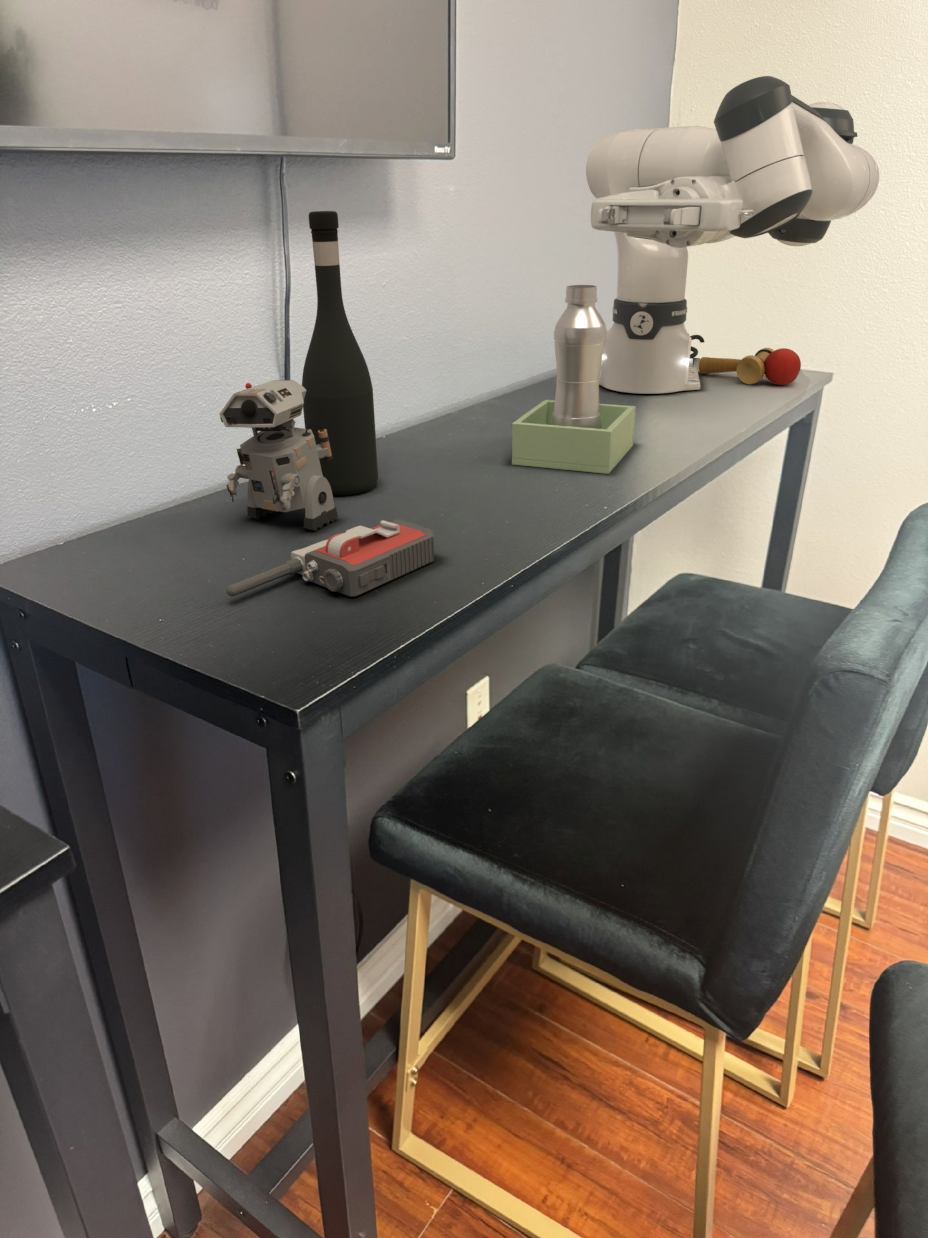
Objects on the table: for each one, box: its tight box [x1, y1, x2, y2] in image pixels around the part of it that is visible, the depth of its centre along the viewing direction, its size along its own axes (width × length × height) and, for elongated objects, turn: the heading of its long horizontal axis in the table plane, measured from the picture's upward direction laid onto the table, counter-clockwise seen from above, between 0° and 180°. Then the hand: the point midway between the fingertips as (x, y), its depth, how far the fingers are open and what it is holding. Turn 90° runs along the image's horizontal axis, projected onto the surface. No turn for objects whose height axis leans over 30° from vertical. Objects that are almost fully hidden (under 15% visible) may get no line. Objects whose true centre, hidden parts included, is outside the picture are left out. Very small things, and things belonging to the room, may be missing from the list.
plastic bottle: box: [551, 284, 608, 429], centre depth 113 cm, size 6×7×20 cm
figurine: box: [219, 379, 338, 532], centre depth 92 cm, size 9×12×15 cm
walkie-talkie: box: [226, 518, 435, 598], centre depth 81 cm, size 9×4×20 cm
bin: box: [511, 399, 636, 475], centre depth 116 cm, size 14×13×5 cm
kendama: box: [698, 347, 802, 386], centre depth 156 cm, size 8×6×18 cm
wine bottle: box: [301, 210, 379, 496], centre depth 100 cm, size 8×8×30 cm
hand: (635, 216), depth 113 cm, fingers open, 8 cm apart
